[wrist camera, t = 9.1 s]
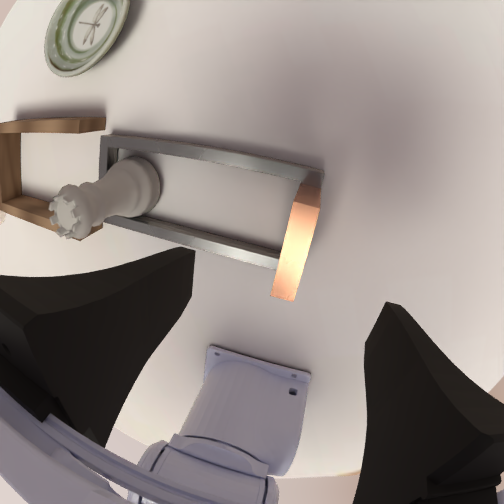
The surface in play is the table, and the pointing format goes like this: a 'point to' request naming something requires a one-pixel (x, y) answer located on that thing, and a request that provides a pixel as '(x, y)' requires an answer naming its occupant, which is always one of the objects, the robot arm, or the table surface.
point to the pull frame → (284, 262)
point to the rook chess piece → (106, 198)
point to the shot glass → (2, 216)
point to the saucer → (82, 34)
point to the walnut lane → (9, 169)
